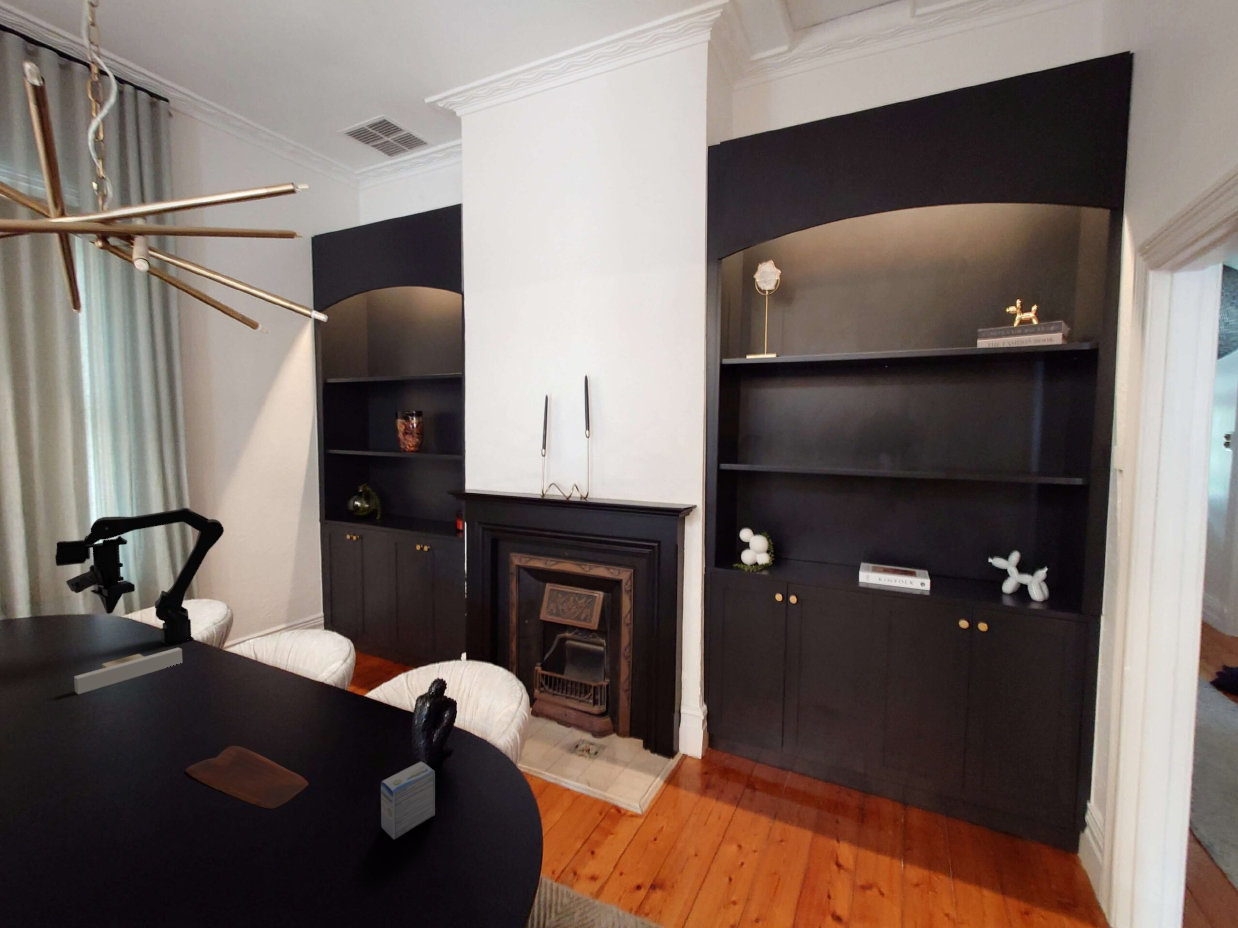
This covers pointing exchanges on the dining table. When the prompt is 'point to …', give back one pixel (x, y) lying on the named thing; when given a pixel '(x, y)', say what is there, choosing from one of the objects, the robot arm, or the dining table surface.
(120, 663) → the maple block
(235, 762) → the wooden tablet
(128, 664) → the fence bar
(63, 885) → the dining table surface
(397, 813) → the medicine box
